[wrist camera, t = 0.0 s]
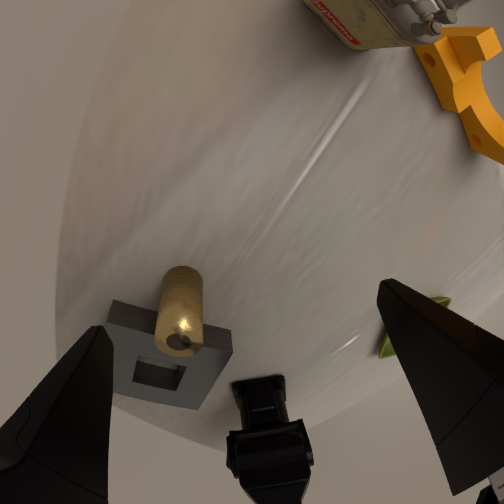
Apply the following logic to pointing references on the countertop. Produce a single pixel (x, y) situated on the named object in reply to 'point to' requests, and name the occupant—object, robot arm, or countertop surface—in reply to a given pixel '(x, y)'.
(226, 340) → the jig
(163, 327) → the bushing
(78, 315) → the countertop surface
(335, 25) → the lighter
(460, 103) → the pipe clamp
